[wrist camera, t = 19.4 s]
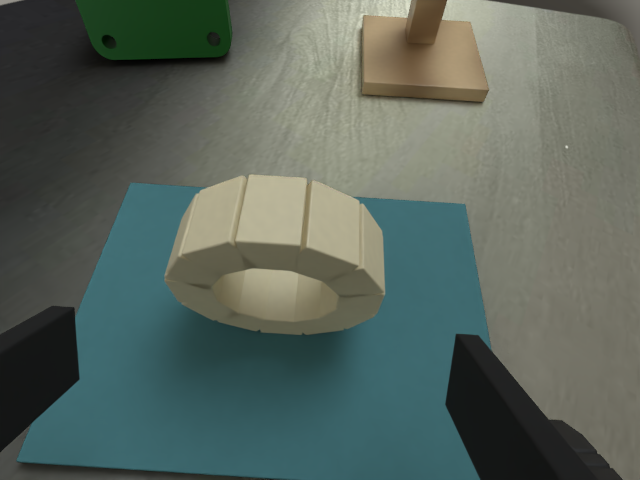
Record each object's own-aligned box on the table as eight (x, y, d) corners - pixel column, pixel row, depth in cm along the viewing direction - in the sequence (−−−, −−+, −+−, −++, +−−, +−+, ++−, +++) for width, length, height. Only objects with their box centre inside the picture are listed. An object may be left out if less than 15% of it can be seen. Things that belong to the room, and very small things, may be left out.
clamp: (221, 72, 40) (247, -26, 35) (216, 96, 36) (245, -11, 30) (91, 23, 36) (96, -97, 31) (68, 44, 32) (69, -91, 26)
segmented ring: (366, 287, 22) (398, 182, 15) (367, 339, 21) (403, 252, 13) (207, 277, 22) (157, 167, 15) (195, 328, 21) (132, 234, 13)
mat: (462, 209, 26) (465, 203, 26) (512, 494, 18) (518, 495, 17) (133, 188, 26) (130, 182, 26) (23, 462, 18) (14, 461, 17)
